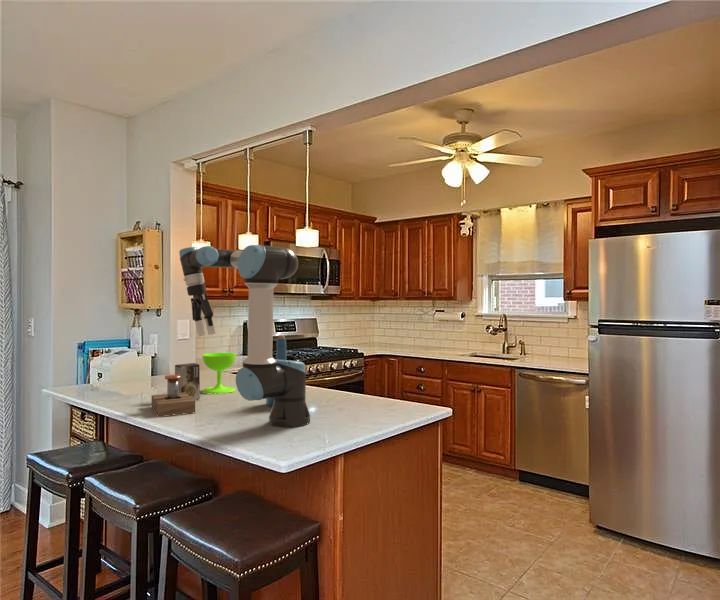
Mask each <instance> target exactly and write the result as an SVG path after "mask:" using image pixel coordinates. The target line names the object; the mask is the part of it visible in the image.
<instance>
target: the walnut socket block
mask: <svg viewBox="0 0 720 600" xmlns="http://www.w3.org/2000/svg"><path fill="white" fill-rule="evenodd" d="M151 408H152V410H153V411H154V413H155V414H156V415H158V416H160V417H165V416H164V415H170V416H174V415H173V414H180V415H184V414H183V413H190V414H194V413H193V412H195V413H196V400H194V399H193V398H192V397H191V396H190V395H188V394H187V393H186V392H184V393H179V399H169V400H167V393H161V394H160V393H159V394H152V395H151ZM158 416H157V417H158Z"/></svg>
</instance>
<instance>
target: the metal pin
mask: <svg viewBox="0 0 720 600" xmlns="http://www.w3.org/2000/svg"><path fill="white" fill-rule="evenodd" d="M164 379H165V380H167V385H166V388H167V391H166V392H167V393H166V394H167V400H169V399H179V379H181V375H175V374H167V375H164Z"/></svg>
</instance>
